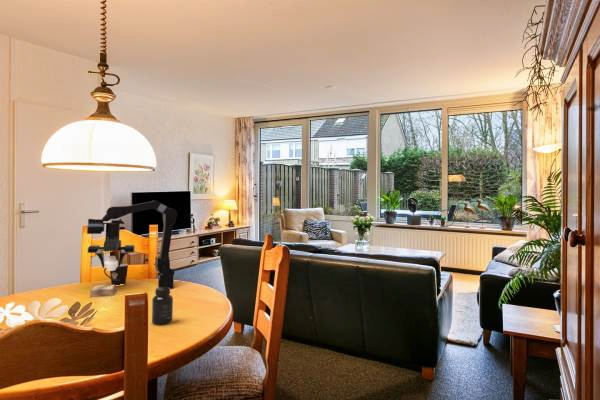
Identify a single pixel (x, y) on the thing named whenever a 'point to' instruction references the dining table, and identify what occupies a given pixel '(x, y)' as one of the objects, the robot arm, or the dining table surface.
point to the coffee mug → (118, 275)
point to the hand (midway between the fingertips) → (111, 267)
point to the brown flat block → (103, 290)
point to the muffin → (111, 263)
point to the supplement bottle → (162, 306)
